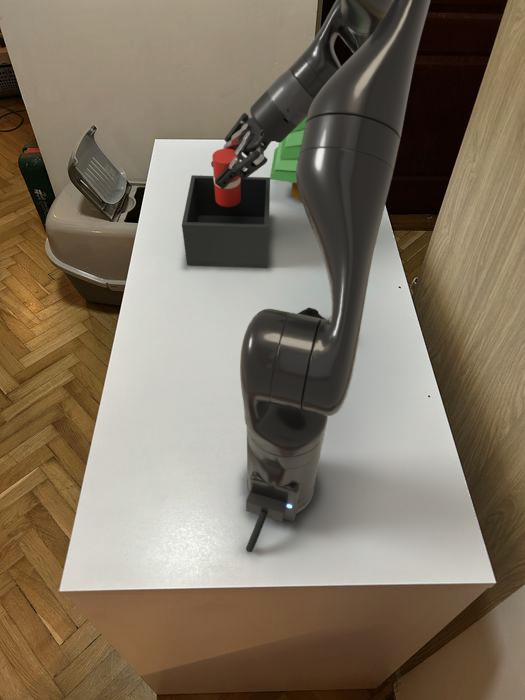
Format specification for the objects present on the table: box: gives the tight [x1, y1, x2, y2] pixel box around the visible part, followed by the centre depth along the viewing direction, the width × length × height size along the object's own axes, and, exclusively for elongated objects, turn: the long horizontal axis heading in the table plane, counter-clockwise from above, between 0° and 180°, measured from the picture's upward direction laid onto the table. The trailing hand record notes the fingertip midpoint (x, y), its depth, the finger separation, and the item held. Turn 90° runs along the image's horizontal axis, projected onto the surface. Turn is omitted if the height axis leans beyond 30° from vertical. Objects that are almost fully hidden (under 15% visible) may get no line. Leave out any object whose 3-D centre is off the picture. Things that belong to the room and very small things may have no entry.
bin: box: [181, 174, 271, 269], centre depth 104 cm, size 16×16×10 cm
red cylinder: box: [211, 148, 241, 207], centre depth 96 cm, size 5×5×9 cm
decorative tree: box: [269, 117, 307, 202], centre depth 106 cm, size 14×16×30 cm
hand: (216, 176), depth 96 cm, fingers closed on red cylinder, 4 cm apart
